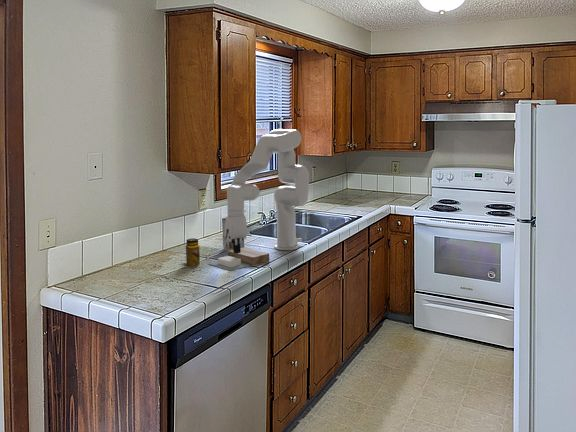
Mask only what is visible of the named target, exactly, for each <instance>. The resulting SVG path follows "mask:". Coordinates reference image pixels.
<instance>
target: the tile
mask: <svg viewBox="0 0 576 432" xmlns="http://www.w3.org/2000/svg"><path fill="white" fill-rule="evenodd" d="M217 261H218V264H221V265H225V266H228V267H233V266H237V265H241V259H238V258H234V257H231V256H228V255H225V256H221V257H217Z"/></svg>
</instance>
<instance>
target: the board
mask: <svg viewBox="0 0 576 432" xmlns="http://www.w3.org/2000/svg"><path fill="white" fill-rule="evenodd" d="M227 256H231V257H234V258H238V259H241V262H242V263H246V264H249V265H251V266H250V267H256V266H260V265H263V264H266V263H270V252H269V253H268V252H266V251H260V250H256V249H252V248H247V247H245V246H244V247H243V248H240V253H234V252H233V250H230V251H227ZM255 265H256V266H255Z"/></svg>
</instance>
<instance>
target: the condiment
mask: <svg viewBox="0 0 576 432" xmlns="http://www.w3.org/2000/svg"><path fill="white" fill-rule="evenodd" d="M200 253H201V252H200V245H199V239H198V238H195V237H194V238H187V239H186V245H185V259H186V261H185V262H182V263H181V267H182V269H183V268H196V267H197V268H198V267H202V265H201V258H200V256H201V255H200Z"/></svg>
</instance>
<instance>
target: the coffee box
mask: <svg viewBox="0 0 576 432" xmlns="http://www.w3.org/2000/svg"><path fill="white" fill-rule="evenodd" d="M225 220H226V217H223V218H222V217H221V226H222V246H223V247H222V249H223V250H225V251H227V252H228V251H230V250H233V244H232V243H231V242H228V241H227V238H226V237H225ZM243 247H245V239H243V241H242V243H241V244H240V248H243Z"/></svg>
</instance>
